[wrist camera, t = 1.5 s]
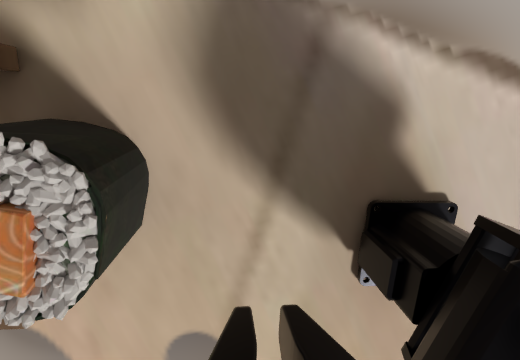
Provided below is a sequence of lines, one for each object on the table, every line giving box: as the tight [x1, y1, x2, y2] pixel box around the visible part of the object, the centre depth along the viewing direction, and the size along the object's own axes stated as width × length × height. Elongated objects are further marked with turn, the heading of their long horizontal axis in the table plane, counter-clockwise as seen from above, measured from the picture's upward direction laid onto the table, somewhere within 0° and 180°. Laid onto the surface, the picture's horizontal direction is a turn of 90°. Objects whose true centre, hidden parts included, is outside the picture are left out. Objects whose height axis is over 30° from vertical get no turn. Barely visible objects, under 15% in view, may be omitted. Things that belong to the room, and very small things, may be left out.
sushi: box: [0, 119, 149, 329], centre depth 14 cm, size 8×8×8 cm
